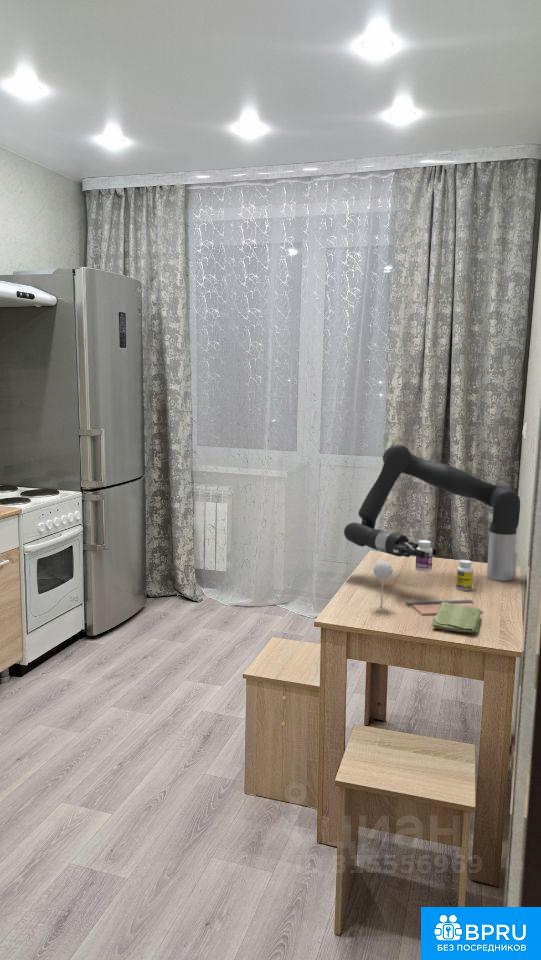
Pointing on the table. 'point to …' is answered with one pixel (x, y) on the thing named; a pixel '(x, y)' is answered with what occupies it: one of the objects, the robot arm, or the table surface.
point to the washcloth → (457, 618)
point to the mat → (437, 606)
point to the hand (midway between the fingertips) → (430, 553)
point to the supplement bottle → (464, 575)
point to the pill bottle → (426, 562)
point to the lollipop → (382, 573)
